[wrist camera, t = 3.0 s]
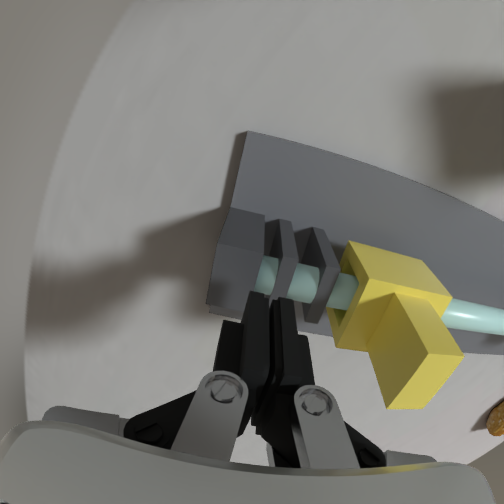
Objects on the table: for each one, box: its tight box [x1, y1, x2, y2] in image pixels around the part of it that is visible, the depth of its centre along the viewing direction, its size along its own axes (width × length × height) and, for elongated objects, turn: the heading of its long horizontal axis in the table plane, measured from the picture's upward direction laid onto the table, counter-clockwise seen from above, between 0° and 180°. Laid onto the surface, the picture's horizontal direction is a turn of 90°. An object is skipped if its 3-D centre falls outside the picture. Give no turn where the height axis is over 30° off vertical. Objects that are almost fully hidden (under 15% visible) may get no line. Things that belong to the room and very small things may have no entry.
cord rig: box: [206, 131, 504, 355], centre depth 17 cm, size 12×32×6 cm, turn 77°
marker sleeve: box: [326, 240, 464, 409], centre depth 13 cm, size 4×5×8 cm
